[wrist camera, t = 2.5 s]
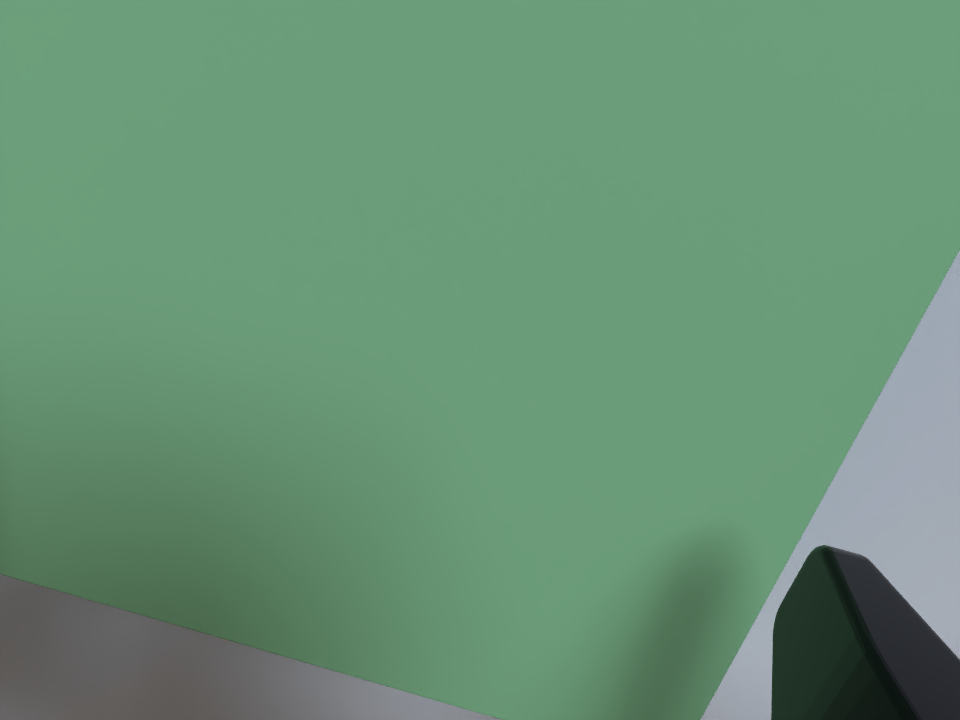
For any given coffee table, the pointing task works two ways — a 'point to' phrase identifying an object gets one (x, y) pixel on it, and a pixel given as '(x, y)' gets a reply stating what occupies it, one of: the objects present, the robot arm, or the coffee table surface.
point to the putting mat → (458, 319)
